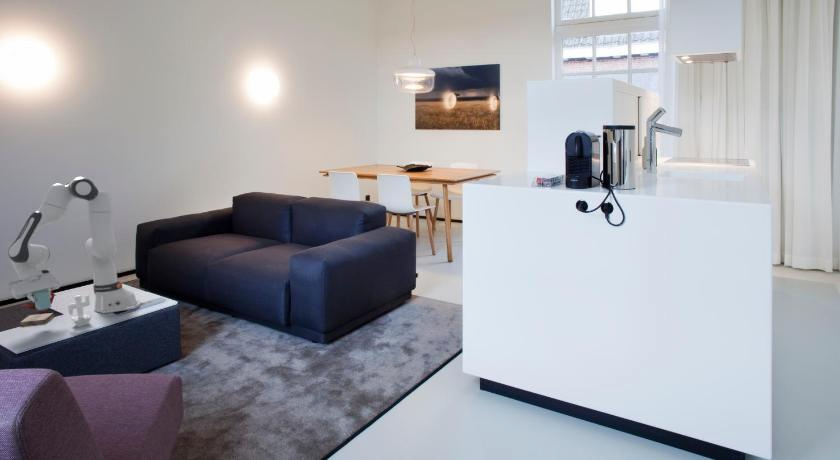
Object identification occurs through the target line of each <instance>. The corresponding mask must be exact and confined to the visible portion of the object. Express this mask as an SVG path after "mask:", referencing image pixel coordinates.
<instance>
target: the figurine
mask: <svg viewBox="0 0 840 460" xmlns="http://www.w3.org/2000/svg"><path fill="white" fill-rule="evenodd" d="M74 300H75V302H73V303H69V304H68V306H67V307H68V308H67V311H68V314H69V315H70V316H72V315H73V314H74V311H73V310H75V309H76V314H77V316H74V317H73V316H72V317H70V319H71V320H72V321H73V323H74V324H75V325H76V326H77V327H78V328H79V327H82V326H87V325H89V323H90V321H91V318H92V317H91V316H90V314H87V313H86V314H84V309H83V308H85V307H88V306H90V303H91V302H90V296H89V294H85V296H84V300H82V295H81V294H80V295H78V294H77V295H74Z"/></svg>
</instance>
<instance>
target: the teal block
mask: <svg viewBox="0 0 840 460" xmlns="http://www.w3.org/2000/svg"><path fill="white" fill-rule="evenodd" d="M32 297H36V299H37V301H36V302H35V306H36V309H38V310H37V311H40V310H43V311H44V310H47V309H51V308H52V304H51V302H50V297H49V292H47V291H40V292H36V293H33V295H32ZM36 309H35V310H36Z"/></svg>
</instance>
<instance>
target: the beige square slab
mask: <svg viewBox="0 0 840 460" xmlns="http://www.w3.org/2000/svg"><path fill="white" fill-rule="evenodd" d="M54 314H55V313H54V312H51V313H50V312H49V313H47V312H46V313H38V314H29V315H27V316H26V317H25V318H24V319H22V320H21V321H20V326H21V327H22V326H23V327H24V326H32V325H44V324H47V323H48V322H49V321H50V320H52V319H53V318H54V317H55V315H54Z"/></svg>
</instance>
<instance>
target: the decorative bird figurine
mask: <svg viewBox="0 0 840 460" xmlns="http://www.w3.org/2000/svg"><path fill="white" fill-rule="evenodd" d="M50 294H51V296H52V297H51V298H50V302H51V305H52V304H53V302H54V298H55V296H56V294H55V293H54V292H53V291H51V293H50ZM18 307H20V308H21V307H22V308H29V309H31V310H35V311H36V310H37V311H39V314H42V313H43V312H44V313H45V312H46V313H47V312H48V311H49V309H48V310H47V309H43V310H38V309H36V306H35V302H33V301H32V302H31V303H29V304H23V305H18Z"/></svg>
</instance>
